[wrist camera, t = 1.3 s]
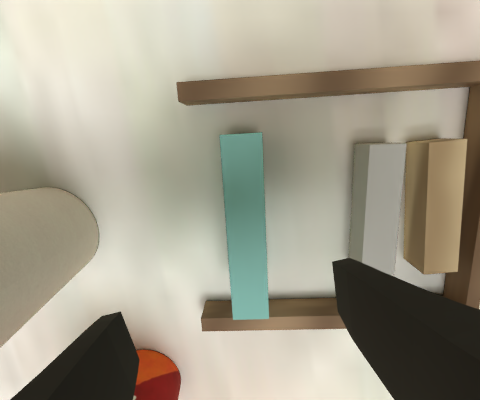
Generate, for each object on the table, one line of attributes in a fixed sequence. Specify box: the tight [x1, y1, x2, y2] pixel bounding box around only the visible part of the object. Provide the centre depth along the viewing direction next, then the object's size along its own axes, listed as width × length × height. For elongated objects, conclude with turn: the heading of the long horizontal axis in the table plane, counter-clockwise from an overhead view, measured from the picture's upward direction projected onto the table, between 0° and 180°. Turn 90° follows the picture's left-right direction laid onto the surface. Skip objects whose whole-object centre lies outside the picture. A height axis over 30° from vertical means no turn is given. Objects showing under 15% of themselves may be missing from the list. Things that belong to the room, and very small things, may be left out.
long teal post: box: [220, 132, 269, 320], centre depth 16 cm, size 2×10×5 cm, turn 3°
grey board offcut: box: [348, 143, 407, 275], centre depth 17 cm, size 2×8×2 cm, turn 3°
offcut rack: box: [177, 61, 480, 331], centre depth 17 cm, size 18×16×2 cm
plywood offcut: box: [404, 139, 467, 274], centre depth 17 cm, size 2×8×2 cm, turn 7°
